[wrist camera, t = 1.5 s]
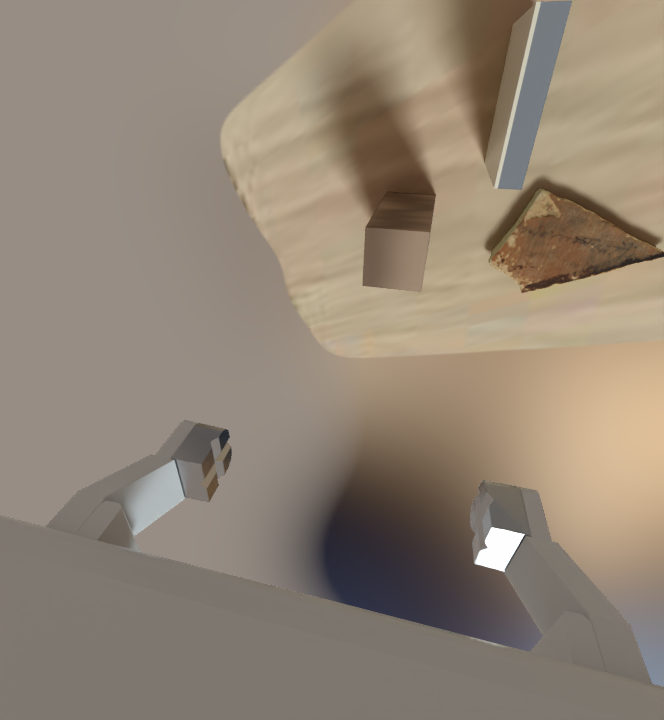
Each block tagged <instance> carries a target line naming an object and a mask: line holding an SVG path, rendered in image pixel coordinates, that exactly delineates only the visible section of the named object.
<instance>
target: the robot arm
mask: <svg viewBox="0 0 664 720" xmlns="http://www.w3.org/2000/svg"><path fill="white" fill-rule="evenodd" d="M229 438H230V436H229V431H228V430H227V429H223V428H219V427H215V426H210V425H206V424H201V423H196V422H192V421H187V420H184V421H183V422H181V423H180V424H179V425H178V427H177V428H176V429H175V430H174V432H173V433H172V434H171V436H170V437H169V438H168V439H167V441H166V442H165V443H164V444H163V446H162V447H161V448H160V450H159V451H158V452H157V454H156V455H149V456H147V457H145V458H143V459H141V460H139V461H137V462H135V463H133V464H131V465H129V466H127V467H125V468H124V469H122V470H119V471H117V472H115V473H114V474H112V475H110V476H108V477H105V478H104V479H102V480H99V481H97V482H96V483H94V484H92V485H90V486H88V487H86V488H84V489H82V490H80V491H78V492H77V493H76V494H75V495H74V496H73V497H72V498H71V499H70V501H68V503H67V504H66V505H65V506H64V507H63V508H62V509H61V510H60V511H59V512H58V514H57V515H56V516H55V517H54V518H53V519H52V520H51V521H50V522H49V524H48V525H47V526H46V527H44V526H40V525H36V524H32V523H28V522H25V521H21V520H17V519H13V518H9V517H5V516H2V515H0V720H664V687H662V686H658V685H654V684H652V682H651V679H650V677H649V674H648V671H647V668H646V666H645V663H644V660H643V658H642V655H641V652H640V650H639V647H638V644H637V641H636V639H635V636H634V634H633V631H632V628H631V625H630V624H629V623H628V622H627V621H626V620H625V618H624V617H623V616H622V615H621V614H620V613H619V612H618V610H617V609H616V608H615V607H614V606H613V605H612V604H611V603H610V602H609V600H608V599H607V598H606V597H605V596H604V595H603V594H602V593H601V591H600V590H599V589H598V588H597V587H596V586H595V585H594V583H593V582H592V581H591V580H590V579H589V578H588V577H587V576H586V574H584V572H583V571H582V570H581V569H580V568H579V567H578V565H577V564H576V563H575V562H574V561H573V560H572V559H571V558H570V557H569V555H568V554H567V553H566V552H565V551H564V550H563V549H562V547H561V546H560V545H559V544H558V543H555V542H552V540H551V536H550V533H549V529H548V525H547V522H546V518H545V514H544V510H543V507H542V503H541V499H540V496H539V493H538V492H537V491H536V490H532V489H527V488H521V487H517V486H512V485H507V484H501V483H496V482H491V481H486V480H483V481H482V482H481V484H480V486H479V495H478V496H476V497H475V498H474V501H473V503H472V508H471V529H472V530H473V531H474V533H475V534H476V535H475V537H474V539H473V541H472V545H473V555H474V563H475V564H479V565H482V566H486V567H490V568H494V569H498V570H502V571H505V572H504V573H505V575H506V576H507V578H508V580H509V582H510V583H511V585H512V586H513V588H514V590H515V591H516V593H517V595H518V596H519V598H520V599H521V601H522V603H523V604H524V606H525V608H526V609H527V611H528V612H529V614H530V616H531V617H532V619H533V621H534V622H535V624H536V626H537V627H538V629H539V631H540V632H541V634H542V635H543V637H542V638H541V639H540V641H539V642H538V643H537V644H536V645H535V646H534V647H533V649H532V650H531V651H530V652H527V651H522V650H519V649H515V648H511V647H507V646H503V645H500V644H496V643H492V642H488V641H484V640H480V639H476V638H473V637H469V636H465V635H461V634H457V633H453V632H449V631H446V630H442V629H438V628H434V627H430V626H426V625H422V624H418V623H415V622H410V621H407V620H403V619H399V618H395V617H391V616H388V615H384V614H380V613H376V612H372V611H368V610H365V609H361V608H357V607H353V606H349V605H345V604H341V603H337V602H334V601H330V600H326V599H322V598H318V597H314V596H310V595H307V594H303V593H299V592H295V591H291V590H287V589H283V588H280V587H276V586H272V585H268V584H264V583H260V582H256V581H252V580H248V579H244V578H241V577H237V576H233V575H229V574H225V573H221V572H218V571H214V570H209V569H206V568H202V567H198V566H194V565H191V564H187V563H183V562H179V561H175V560H171V559H167V558H163V557H159V556H156V555H152V554H148V553H144V552H140V548H139V546H138V543H137V541H136V539H135V537H134V536H135V535H136V534H138V533H139V532H140V531H142V530H143V529H144V528H146V527H147V526H148V525H150V524H151V523H153V522H154V521H155V520H157V519H158V518H159V517H161V516H162V515H163V514H165V513H166V512H167V511H169V510H170V509H172V508H173V507H174V506H176V505H177V504H178V503H180V502H181V501H182V500H184V499H185V497H187V498H192V499H196V500H201V501H207V502H210V500H211V498H212V497H213V494H214V493H215V491H216V489H217V488H218V486H219V484H218V478H220V477H221V476H223V475H224V474H225V473H226V471H227V469H228V467H229V464H230V461H231V456H232V449H231V446H230V445H229V444H228V443H227V441H228V439H229Z"/></svg>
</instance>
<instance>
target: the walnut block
mask: <svg viewBox="0 0 664 720" xmlns="http://www.w3.org/2000/svg"><path fill="white" fill-rule="evenodd" d="M435 197H436V195H427V194H410V193H393V192H387V193H386V194H385V196H384V198H383V199H382V201H381V203H380V204H379V206H378V208H377V209H376V211H375V213H374V214H373V216H372V217H371V219H370V221H369V222H368V224H367V226H366V228H365V248H364V267H363V286H370V287H379V288H389V289H398V290H407V291H417V292H421V289H422V283H423V276H424V270H425V264H426V257H427V251H428V244H429V237H430V231H431V224H432V217H433V210H434V203H435Z"/></svg>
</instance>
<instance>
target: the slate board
mask: <svg viewBox="0 0 664 720" xmlns="http://www.w3.org/2000/svg"><path fill="white" fill-rule="evenodd" d="M571 3H572V1H551V2H536V3H535V4H534V5H533V6H532V7H531V8H530V9H529V10H528V11H527V12H526V13H525V14H523V15H522V16H521V17H520V18H519V19H518V20H517V21H516V22H515V23H514V24H513V27H512V32H511V37H510V42H509V46H508V51H507V56H506V61H505V66H504V71H503V75H502V80H501V85H500V90H499V95H498V100H497V105H496V109H495V114H494V119H493V124H492V129H491V134H490V138H489V143H488V148H487V153H486V158H485V165H486V168H487V171H488V173H489V176H490V179H491V181H492V184H493V187H494V188H499V189H518V190H522V186H523V183H524V179H525V175H526V171H527V168H528V164H529V160H530V156H531V153H532V149H533V145H534V141H535V138H536V134H537V130H538V126H539V123H540V119H541V115H542V111H543V108H544V104H545V100H546V96H547V93H548V89H549V85H550V81H551V78H552V74H553V70H554V66H555V63H556V59H557V55H558V51H559V48H560V44H561V40H562V36H563V33H564V29H565V25H566V21H567V18H568V14H569V10H570V6H571Z"/></svg>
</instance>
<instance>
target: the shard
mask: <svg viewBox="0 0 664 720" xmlns="http://www.w3.org/2000/svg"><path fill="white" fill-rule="evenodd" d="M661 257H664V252H663V251H662V250H660V249H658V248H655V247H654V246H652V245H650V244H648V243H646V242H643V241H641V240H638V239H636V238H635V237H633V236H631V235H629V234H627V233H625V232H624V231H622V230H620V228H619V227H617V226H616V225H614V224H613V223H611V222H609V221H607V220H605V219H603V218H601V217H600V216H599V215H597V214H596V213H594V212H592V211H590V210H587V209H585V208H583V207H582V206H580V205H578V204H576V203H575V202H573V201H571V200H568V199H566V198H559V197H557V196H555V195H553V194H552V193H551V192H549V191H545V190H544V189H538V190H537V191H536V193H535V194H534V196H533V198H532V199H531V201H530V202H529V203H528V205H527V206H526V208H525V209H524V211H523V212H522V214H521V215H520V216H519V218H518V220H517V221H516V223H515V224H514V226H513V227H512V228H511V229H510V230H509V231H508V232H507V233H506V235H505V236H504V237H503V238H502V240H501V241H500V242H499V243H498V244H497V245H496V246H495V247H494V250H493V252H492V253H491V256H490V258H489V264H490V265H491V266H493V267H495V268H496V269H499V270H500V271H502V272H504V273H505V274H507V275H508V276H510V277H511V278H512V279H513V280H514V281H515V282H516V283H517V284H518V285H519V286H520V288H521V292H522V293H525V292H528V291H534V290H536V289H543V288H546V287H550V286H552V285H554V284H563V283H566V282H570V281H574V280H579V279H584V278H588V277H591V276H594V275H599V274H602V273H606V272H609V271H612V270H615V269H619V268H622V267H625V266H627V265H631V264H634V263H639V262H643V261H651V260H654V259H657V258H661Z"/></svg>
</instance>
